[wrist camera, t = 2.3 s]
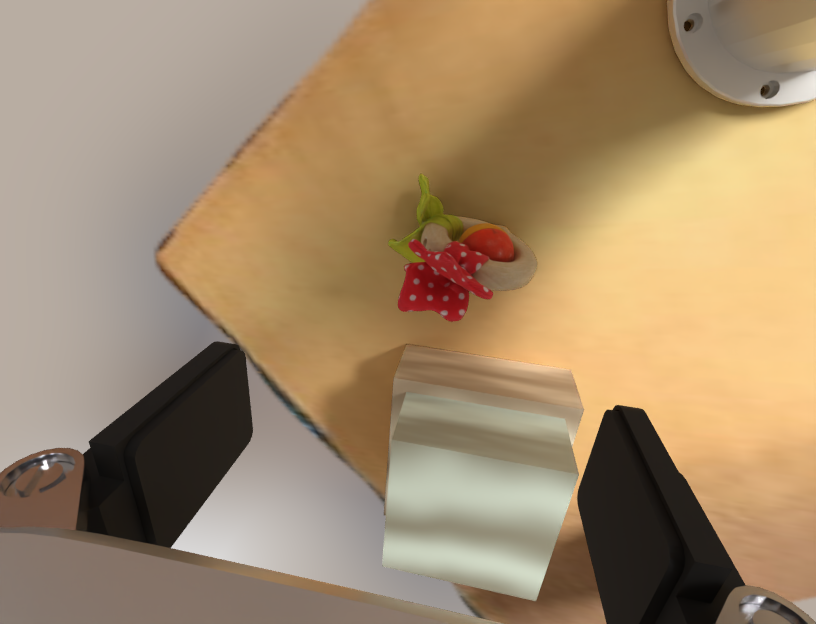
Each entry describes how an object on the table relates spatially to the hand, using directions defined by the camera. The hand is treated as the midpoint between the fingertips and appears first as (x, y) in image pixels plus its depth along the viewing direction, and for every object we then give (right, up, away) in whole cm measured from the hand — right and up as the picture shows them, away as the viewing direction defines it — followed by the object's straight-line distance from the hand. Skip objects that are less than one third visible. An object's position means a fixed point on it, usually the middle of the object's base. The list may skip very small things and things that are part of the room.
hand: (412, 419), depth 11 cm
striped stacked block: (+6, -7, +25) cm, 27 cm away
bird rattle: (+4, +9, +19) cm, 21 cm away
